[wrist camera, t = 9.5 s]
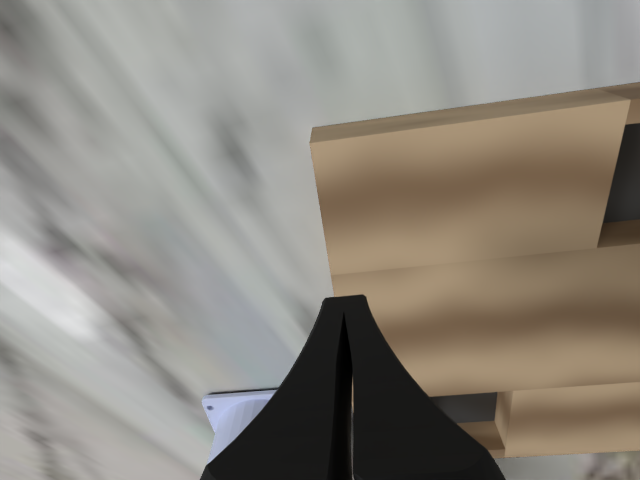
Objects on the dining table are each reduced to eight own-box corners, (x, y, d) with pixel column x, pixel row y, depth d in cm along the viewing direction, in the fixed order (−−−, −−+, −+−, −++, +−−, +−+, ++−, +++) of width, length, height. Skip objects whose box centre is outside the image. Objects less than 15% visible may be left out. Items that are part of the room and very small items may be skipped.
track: (784, 407, 28) (851, 467, 25) (359, 433, 31) (363, 491, 28) (1033, 27, 17) (1234, 34, 13) (312, 127, 20) (307, 156, 16)
